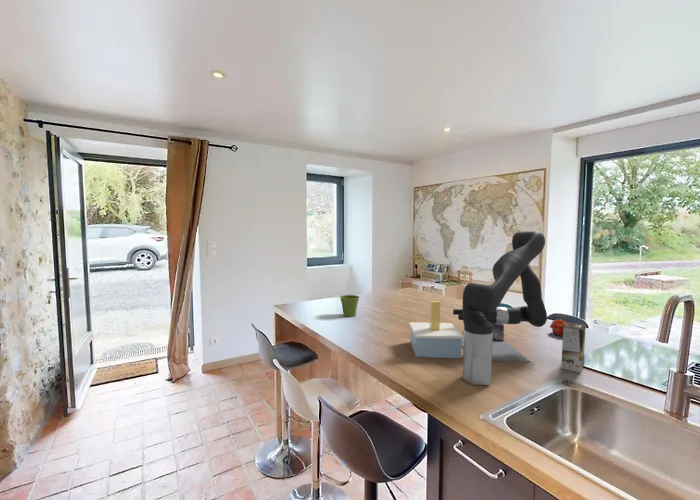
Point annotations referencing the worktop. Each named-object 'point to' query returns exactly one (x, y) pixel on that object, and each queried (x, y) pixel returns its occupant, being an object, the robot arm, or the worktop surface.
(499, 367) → the worktop surface
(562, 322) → the dragon fruit
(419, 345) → the tub
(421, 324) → the lid
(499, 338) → the geode
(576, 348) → the coffee box
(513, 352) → the mat
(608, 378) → the worktop surface
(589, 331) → the worktop surface
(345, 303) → the plant pot
